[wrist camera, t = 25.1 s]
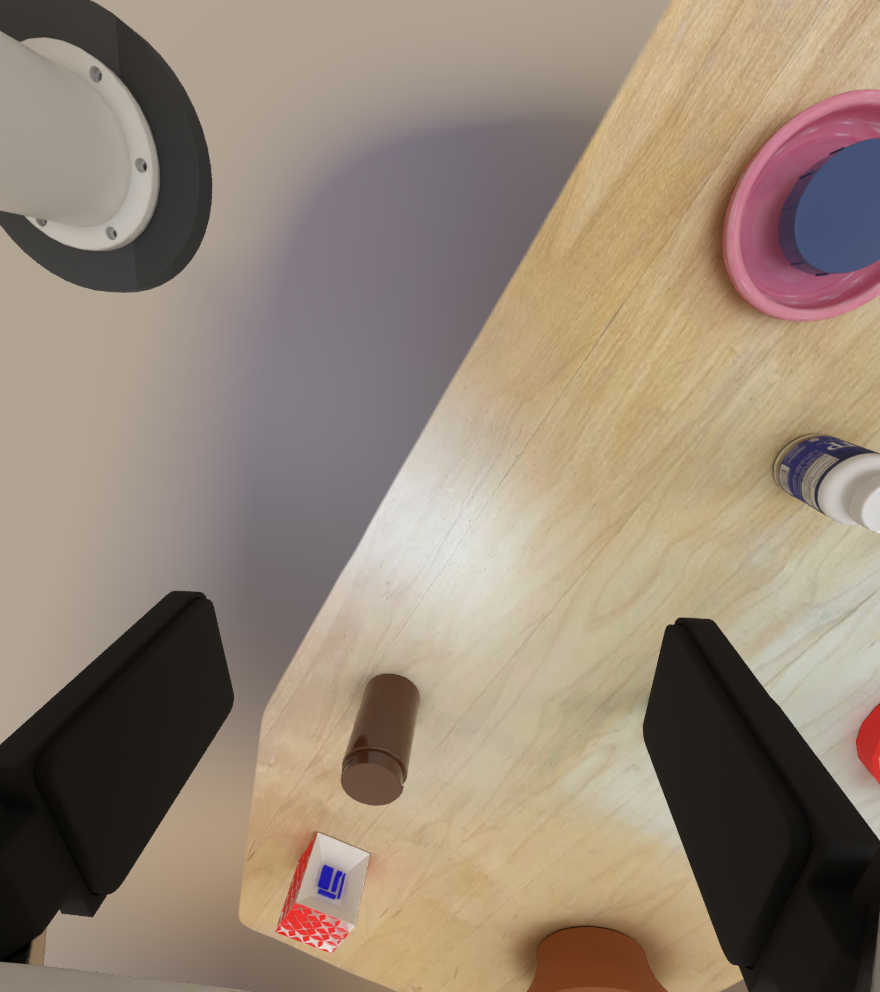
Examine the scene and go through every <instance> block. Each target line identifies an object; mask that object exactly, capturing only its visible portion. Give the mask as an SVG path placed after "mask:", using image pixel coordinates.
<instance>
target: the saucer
mask: <svg viewBox="0 0 880 992" xmlns="http://www.w3.org/2000/svg"><path fill="white" fill-rule="evenodd" d="M874 138H880V90H875V89H866V90H856V91H850V92H846V93H842V94H838V95H835V96H833V97H830V98H827V99H825V100H823V101H820V102H818V103H816V104H814V105H812V106H811V107H809V108H807V109H805V110H804V111H802V112H801V113H799V114H798V115H796V116H795V117H794V118H792V119H791V120H790V121H788V122H787V123H786V124H784V125H783V126H782V127H781V128H780V129H778V130H777V131H776V132H775V133H774V134H773V135H772V136H771V137H770V138H769V139H768V140H767V141H766V142H765V143H764V144H763V145H762V146H761V148H760V149H759V150H758V151H757V152H756V154H755V155H754V156H753V158H752V159H751V160H750V162H749V163H748V165H747V166H746V168H745V170H744V171H743V173H742V175H741V177H740V178H739V180H738V182H737V184H736V186H735V189H734V191H733V193H732V196H731V199H730V202H729V205H728V208H727V211H726V216H725V221H724V227H723V257H724V263H725V267H726V270H727V273H728V276H729V278H730V280H731V282H732V284H733V286H734V288H735V289H736V291H737V292H738V293H739V295H740V296H741V297H742V298H743V299H744V300H745V301H746V302H747V303H748V304H749V305H751V306H752V307H753V308H755V309H756V310H758V311H760V312H762V313H764V314H766V315H768V316H771V317H774V318H778V319H782V320H789V321H817V320H823V319H828V318H832V317H835V316H839V315H842V314H844V313H847V312H849V311H852V310H854V309H856V308H858V307H860V306H862V305H864V304H866V303H867V302H869V301H871V300H872V299H874V298H876V297H877V296H878V295H880V260H878V261H877V262H875V263H873V264H871V265H869V266H867V267H865V268H863V269H860V270H857V271H853V272H849V273H840V274H830V275H826V276H815V275H812V274H808V273H805V272H802V271H800V270H798V269H796V268H795V267H794V266H790V265H791V264H790V262H789V261H787V259H786V257H785V256H784V254H783V252H782V250H781V248H780V243H778V241H779V237H778V226H779V218H780V215H781V208H783V205H784V202H785V200H786V199H787V197H788V195H789V193H790V191H791V190H792V188H793V186H794V185H795V184H796V183H797V181H798V180H799V179H800V178H799V177H800V176H801V175H803V174H804V173H805V172H806V171H807V170H808V169H810V168H811V167H812V166H813V165H814V164H816V163H817V162H818V161H820V160H821V159H823V158H825V157H827V156H828V155H829V153H831V152H833V151H835V150H838V149H840V148H842V147H844V146H845V148H846V147H848V146H850V145H853V144H855V143H857V142H860V141H864V140H867V139H874Z"/></svg>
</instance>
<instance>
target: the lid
mask: <svg viewBox="0 0 880 992" xmlns="http://www.w3.org/2000/svg"><path fill="white" fill-rule="evenodd" d="M799 178H800V179H799V180H798V181H797V183H796V184H795V185H794V186H793V188H792V190H791V191H790V193H789V195H788V197H787V199H786V200H785V202H784V205H783V208H781V215H780V218H779V226H778V237H779V241H778V243H780V248H781V250H782V252H783V254H784V256H785V257H786V259H787V261H789V262H790V264H791V265H790V266H794V267H795V268H796V269H798V270H800V271H802V272H805V273H808V274H812V275H815V276H826V275H830V274H840V273H849V272H853V271H857V270H860V269H863V268H865V267H867V266H869V265H871V264H873V263H875V262H877V261H878V260H880V138H874V139H867V140H864V141H860V142H857V143H855V144H853V145H850V146H848V147H846V148H845V146H844V147H842V148H840V149H838V150H835V151H833V152H831V153H829V155H828V156H827V157H825V158H823V159H821V160H820V161H818V162H817V163H816V164H814V165H813V166H812V167H811V168H810V169H808V170H807V171H806V172H805V173H804V174H803V175H801V176H800V177H799Z"/></svg>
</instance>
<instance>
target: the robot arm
mask: <svg viewBox="0 0 880 992" xmlns="http://www.w3.org/2000/svg"><path fill="white" fill-rule="evenodd" d="M159 188H160V166H159V160H158V154H157V148H156V144H155V141H154V138H153V135H152V132H151V129H150V126H149V124H148V121H147V119H146V117H145V115H144V113H143V111H142V109H141V107H140V105H139V104H138V102H137V101H136V99H135V98H134V96H133V95H132V93H131V92H130V90H129V89H128V87H127V86H126V85H125V84H124V83H123V82H122V81H121V80H120V79H119V77H118V76H117V75H116V74H115V73H114V72H113V71H112V70H110V69H109V68H108V67H107V66H105V65H104V64H103V63H102V62H101V61H99V60H98V59H97V58H95V57H93V56H92V55H90V54H88V53H87V52H85V51H84V50H82V49H81V48H79V47H76V46H74V45H72V44H69V43H67V42H65V41H62V40H57V39H51V38H46V37H44V38H31V39H27V40H24V41H21V42H18V41H17V40H15V39H13V38H12V37H10V36H8V35H6V34H5V33H3V32H1V31H0V211H5V212H9V213H14V214H19V215H24V216H25V217H26V218H27V219H28V220H29V221H30V222H31V223H32V224H33V225H34V226H35V227H37V228H38V229H39V230H41V231H42V232H43V233H45V234H46V235H48V236H49V237H51V238H53V239H55V240H57V241H59V242H60V243H62V244H64V245H68V246H71V247H74V248H78V249H82V250H89V251H111V250H115V249H118V248H122V247H124V246H126V245H127V244H129V243H131V242H132V241H134V240H135V239H136V238H137V237H138V236H139V235H140V234H141V233H142V232H143V231H144V230H145V228H146V227H147V225H148V223H149V222H150V220H151V219H152V216H153V213H154V211H155V208H156V205H157V201H158V195H159ZM233 702H234V693H233V689H232V684H231V680H230V675H229V671H228V667H227V662H226V658H225V654H224V649H223V645H222V641H221V636H220V632H219V628H218V624H217V619H216V615H215V610H214V606H213V603H212V602H211V601H210V600H208V599H206V596H205V595H204V594H203V593H201V592H191V591H172V592H170V593H169V594H168V595H166V596H165V597H164V598H163V599H162V600H161V601H160V602H158V603H157V604H156V605H155V606H154V607H153V608H152V609H151V610H150V611H148V612H147V613H146V614H145V615H144V616H143V617H142V618H141V619H140V620H138V621H137V622H136V623H135V624H134V625H133V626H132V627H131V628H130V629H128V630H127V631H126V632H125V633H124V634H123V635H122V636H121V637H120V638H118V639H117V640H116V641H115V642H114V643H113V644H112V645H111V646H109V647H108V648H107V649H106V650H105V651H104V652H103V653H102V654H101V655H99V656H98V657H97V658H96V659H95V660H94V661H93V662H92V663H91V664H90V665H88V666H87V667H86V668H85V669H84V670H83V671H82V672H81V673H79V674H78V675H77V676H76V677H75V678H74V679H73V680H72V681H71V682H69V683H68V684H67V685H66V686H65V687H64V688H63V689H62V690H61V691H59V693H57V694H56V695H55V696H54V697H53V698H52V699H51V700H50V701H48V702H47V703H46V704H45V705H44V706H43V707H42V708H41V709H39V710H38V711H37V712H36V713H35V714H34V715H33V716H32V717H31V718H29V719H28V720H27V721H26V722H25V723H24V724H23V725H22V726H21V727H20V728H18V729H17V730H16V731H15V732H14V733H13V734H12V735H11V736H10V737H8V738H7V739H6V740H5V741H4V742H3V743H2V744H1V745H0V992H253V991H245V990H237V989H229V988H221V987H213V986H205V985H195V984H188V983H180V982H171V981H164V980H155V979H147V978H139V977H131V976H122V975H114V974H106V973H98V972H89V971H81V970H73V969H64V968H57V967H49V966H44V954H45V942H46V930H47V926H48V925H49V923H50V922H51V920H52V919H53V918H54V916H55V915H56V913H57V912H58V910H59V909H60V911H61V913H62V914H70V915H79V916H88V917H93V916H94V915H95V913H96V911H97V910H98V908H99V907H100V905H101V904H102V902H103V901H104V899H105V898H106V895H108V894H111V893H113V892H115V891H116V890H117V889H118V888H119V887H120V885H121V884H122V882H123V881H124V880H125V878H126V877H127V875H128V874H129V872H130V870H131V869H132V867H133V866H134V864H135V862H136V861H137V859H138V858H139V856H140V854H141V853H142V851H143V850H144V848H145V846H146V845H147V843H148V842H149V840H150V838H151V837H152V835H153V834H154V832H155V831H156V829H157V827H158V826H159V824H160V823H161V821H162V820H163V818H164V816H165V814H166V813H167V812H168V810H169V808H170V807H171V805H172V804H173V802H174V800H175V799H176V797H177V796H178V794H179V793H180V791H181V789H182V788H183V786H184V785H185V783H186V781H187V780H188V778H189V777H190V775H191V774H192V772H193V770H194V769H195V767H196V766H197V764H198V762H199V761H200V759H201V758H202V756H203V754H204V753H205V751H206V750H207V748H208V746H209V745H210V743H211V742H212V740H213V739H214V737H215V735H216V734H217V732H218V731H219V729H220V727H221V726H222V724H223V723H224V721H225V719H226V718H227V716H228V715H229V713H230V711H231V709H232V706H233ZM643 736H644V741H645V745H646V747H647V750H648V753H649V755H650V758H651V761H652V764H653V766H654V769H655V772H656V774H657V777H658V780H659V782H660V785H661V788H662V790H663V793H664V796H665V798H666V801H667V804H668V806H669V809H670V812H671V814H672V817H673V820H674V822H675V825H676V828H677V830H678V833H679V836H680V838H681V841H682V844H683V846H684V849H685V852H686V854H687V857H688V860H689V863H690V865H691V868H692V871H693V873H694V876H695V879H696V881H697V884H698V887H699V889H700V892H701V895H702V897H703V900H704V903H705V905H706V908H707V911H708V913H709V916H710V919H711V921H712V924H713V927H714V929H715V932H716V935H717V937H718V940H719V943H720V945H721V948H722V950H723V952H724V954H725V956H726V958H727V960H728V961H729V962H730V963H731V964H733V965H739V968H740V970H741V973H742V976H743V978H744V981H745V983H746V986H747V988H748V991H749V992H880V840H879V839H878V838H877V836H876V835H875V834H874V832H873V831H872V830H871V828H870V827H869V826H868V824H867V823H866V822H865V820H864V819H863V818H862V816H861V815H860V814H859V812H858V811H857V810H856V808H855V807H854V806H853V804H852V803H851V802H850V800H849V799H848V798H847V796H846V795H845V794H844V792H843V791H842V790H841V788H840V787H839V786H838V784H837V783H836V782H835V780H834V779H833V777H832V776H831V775H830V773H829V772H828V771H827V769H826V768H825V767H824V765H823V764H822V763H821V761H820V760H819V759H818V757H817V756H816V755H815V753H814V752H813V751H812V749H811V748H810V747H809V745H808V744H807V743H806V741H805V740H804V739H803V737H802V736H801V735H800V733H799V732H798V731H797V729H796V728H795V727H794V725H793V724H792V723H791V721H790V720H789V719H788V717H787V716H786V715H785V713H784V712H783V711H782V709H781V708H780V707H779V705H778V704H777V703H776V702H775V701H774V700H773V699H772V698H771V697H770V696H769V694H768V693H767V692H766V690H765V689H764V688H763V686H762V685H761V684H760V682H759V681H758V680H757V678H756V677H755V676H754V674H753V673H752V672H751V670H750V669H749V668H748V666H747V665H746V663H745V662H744V661H743V659H742V658H741V657H740V655H739V654H738V653H737V651H736V650H735V649H734V647H733V646H732V645H731V643H730V642H729V641H728V639H727V638H726V637H725V635H724V634H723V633H722V631H721V630H720V628H719V627H718V626H717V624H716V623H715V622H714V621H713V620H710V619H699V618H678V619H677V620H676V621H675V624H674V625H668V626H667V627H666V629H665V633H664V637H663V641H662V646H661V650H660V654H659V658H658V663H657V667H656V671H655V676H654V680H653V684H652V688H651V693H650V697H649V701H648V706H647V710H646V714H645V718H644V723H643Z"/></svg>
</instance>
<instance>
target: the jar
mask: <svg viewBox="0 0 880 992" xmlns="http://www.w3.org/2000/svg"><path fill="white" fill-rule="evenodd" d="M419 699H420V697H419V692H418V690H417V688H416V687H415V685H414V684H413V683H412V682H410V681H409V680H408V679H406V678H404V677H401V676H398V675H393V674H384V675H380V676H377V677H375V678H373V679H372V680H371V681H370V682H369V683H368V684H367V686H366V688H365V691H364V695H363V698H362V701H361V704H360V707H359V711H358V714H357V717H356V720H355V723H354V727H353V730H352V733H351V736H350V739H349V743H348V746H347V749H346V752H345V756H344V759H343V763H342V775H341V785H342V787H343V789H344V791H345V792H346V793H347V794H348V795H349V796H350V797H351V798H353V799H354V800H356V801H358V802H360V803H363V804H367V805H374V806H379V805H386V804H389V803H391V802H393V801H395V800H396V799H397V798H399V796H400V795H401V793H402V790H403V786H402V785H403V784H404V782H405V780H406V778H407V773H408V767H409V761H410V755H411V749H412V743H413V737H414V731H415V724H416V718H417V712H418V706H419Z"/></svg>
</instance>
